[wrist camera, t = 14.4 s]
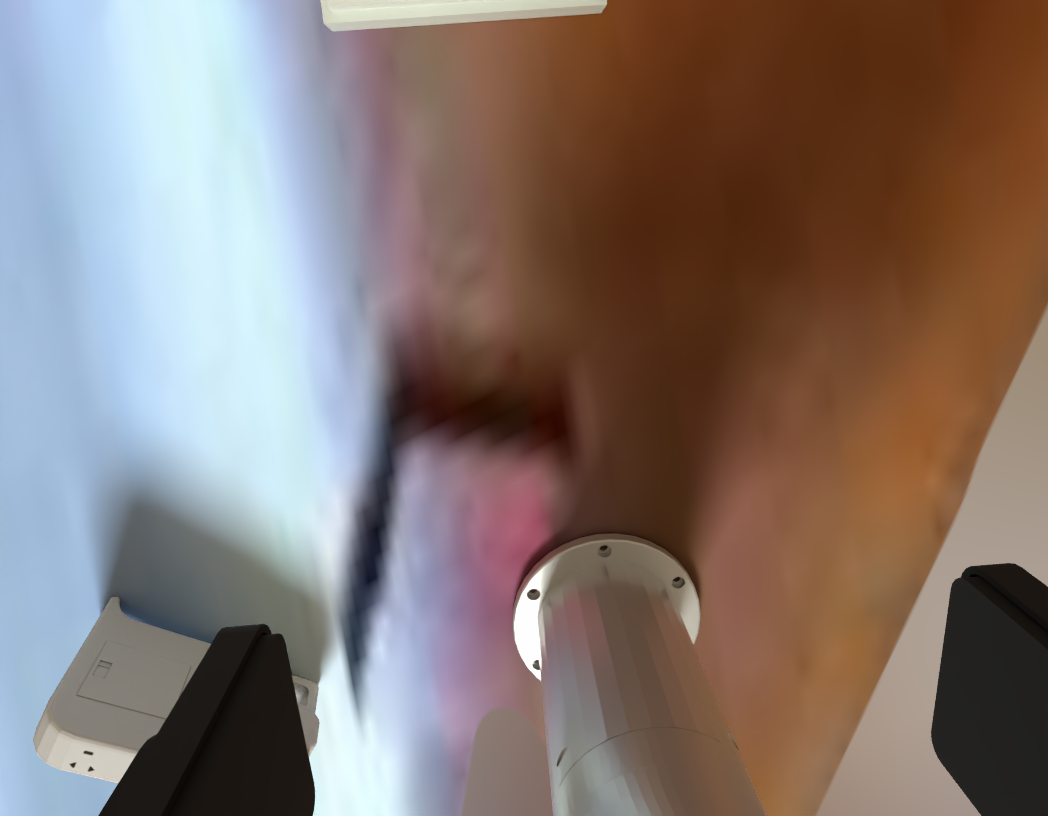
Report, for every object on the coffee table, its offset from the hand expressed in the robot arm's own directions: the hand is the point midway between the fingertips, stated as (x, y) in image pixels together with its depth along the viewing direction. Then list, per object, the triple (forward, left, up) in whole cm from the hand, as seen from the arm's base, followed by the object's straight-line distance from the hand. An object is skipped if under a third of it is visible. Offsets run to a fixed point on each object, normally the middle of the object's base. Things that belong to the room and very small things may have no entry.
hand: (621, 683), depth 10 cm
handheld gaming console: (-23, +22, -34) cm, 46 cm away
